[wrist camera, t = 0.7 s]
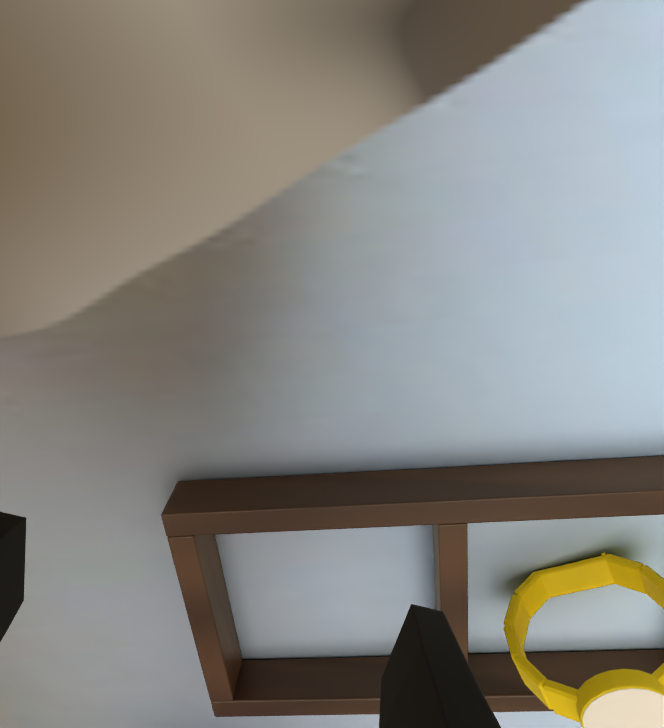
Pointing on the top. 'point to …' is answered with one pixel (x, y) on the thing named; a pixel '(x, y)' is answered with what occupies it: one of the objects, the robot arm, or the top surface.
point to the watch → (605, 690)
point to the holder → (385, 509)
